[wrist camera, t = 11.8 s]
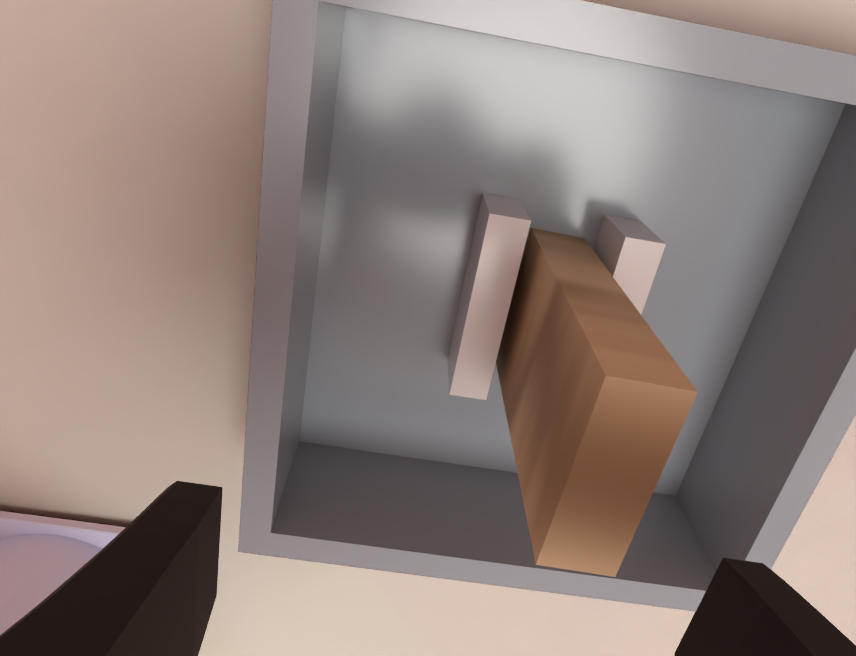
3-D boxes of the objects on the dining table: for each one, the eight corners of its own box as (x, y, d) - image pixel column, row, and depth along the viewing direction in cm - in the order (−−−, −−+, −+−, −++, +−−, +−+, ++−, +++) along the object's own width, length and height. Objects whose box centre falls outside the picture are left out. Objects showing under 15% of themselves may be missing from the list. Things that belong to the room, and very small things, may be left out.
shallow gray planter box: (685, 507, 22) (744, 617, 18) (275, 448, 21) (238, 551, 17) (878, 75, 16) (1033, 91, 12) (317, -37, 15) (276, -62, 11)
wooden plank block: (543, 365, 19) (614, 576, 12) (494, 356, 19) (536, 564, 11) (584, 238, 17) (697, 392, 10) (530, 227, 17) (606, 375, 10)
